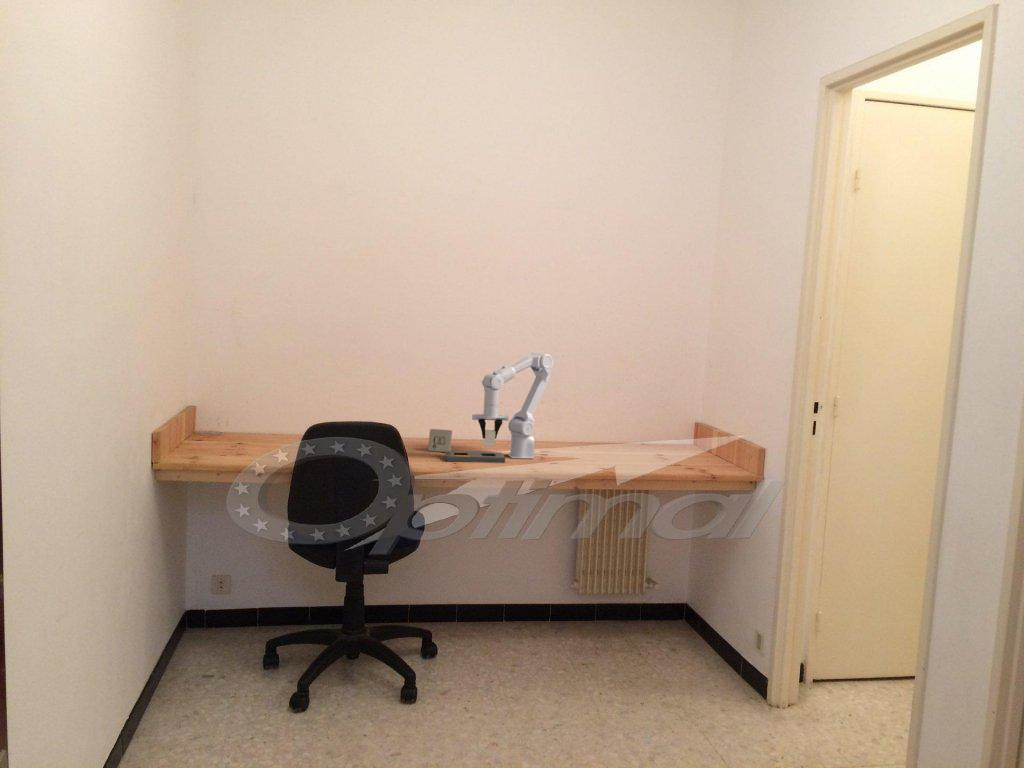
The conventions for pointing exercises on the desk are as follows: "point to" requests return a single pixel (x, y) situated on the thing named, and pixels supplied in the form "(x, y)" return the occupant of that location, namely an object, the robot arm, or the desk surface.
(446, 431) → the electrical switch
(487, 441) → the peg
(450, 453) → the grey board with holes
